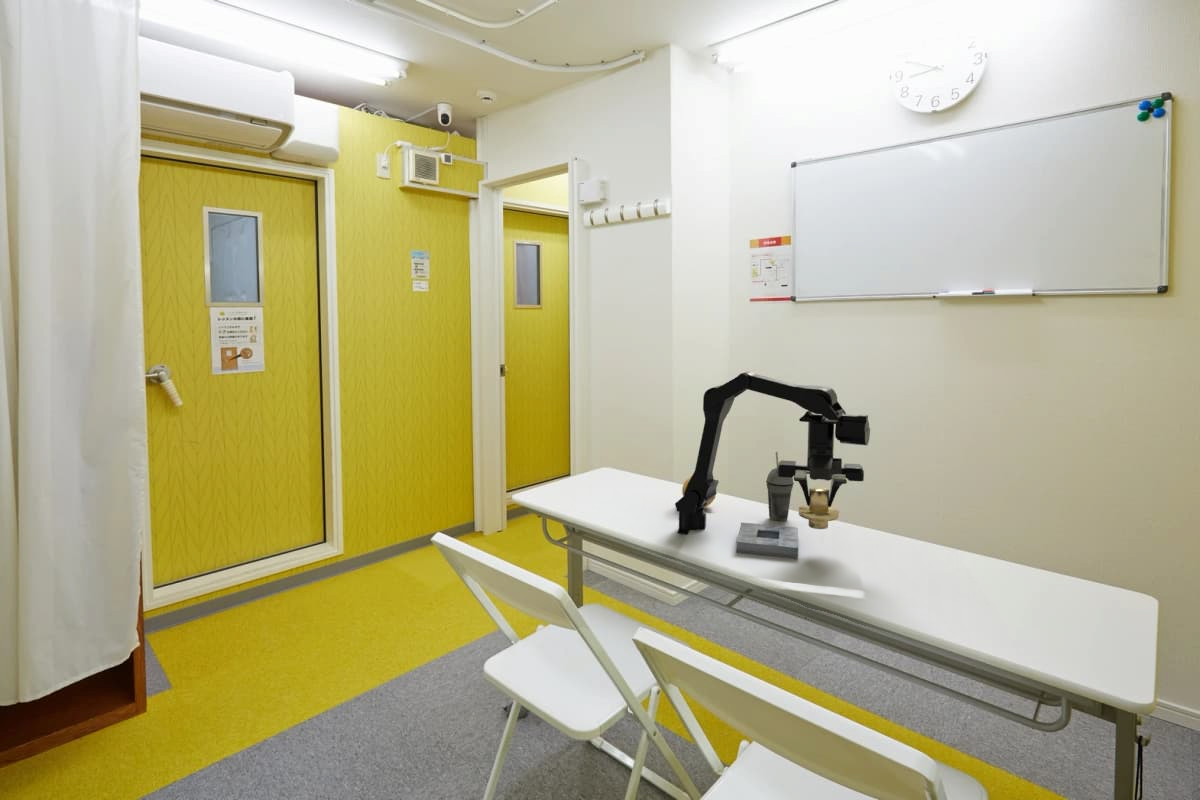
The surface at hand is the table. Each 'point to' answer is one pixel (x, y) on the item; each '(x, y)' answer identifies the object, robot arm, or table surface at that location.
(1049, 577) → the table surface
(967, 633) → the table surface
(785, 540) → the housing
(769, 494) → the beverage cup
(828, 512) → the end cover
